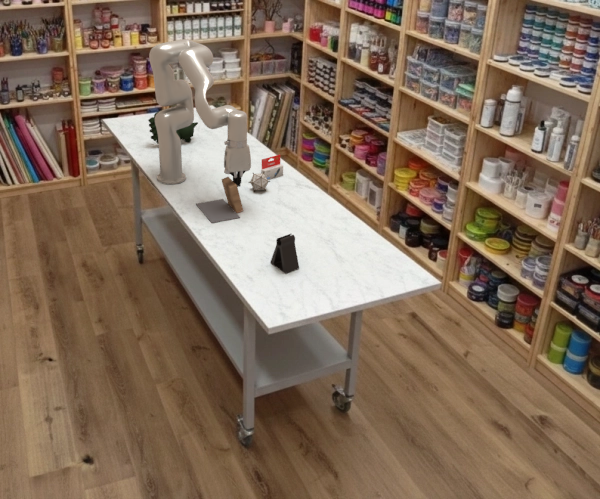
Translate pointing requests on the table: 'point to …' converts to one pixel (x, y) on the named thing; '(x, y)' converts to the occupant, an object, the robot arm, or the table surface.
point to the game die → (259, 181)
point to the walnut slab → (232, 194)
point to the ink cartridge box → (272, 167)
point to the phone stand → (285, 254)
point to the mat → (217, 211)
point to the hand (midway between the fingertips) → (237, 185)
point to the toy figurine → (182, 133)
